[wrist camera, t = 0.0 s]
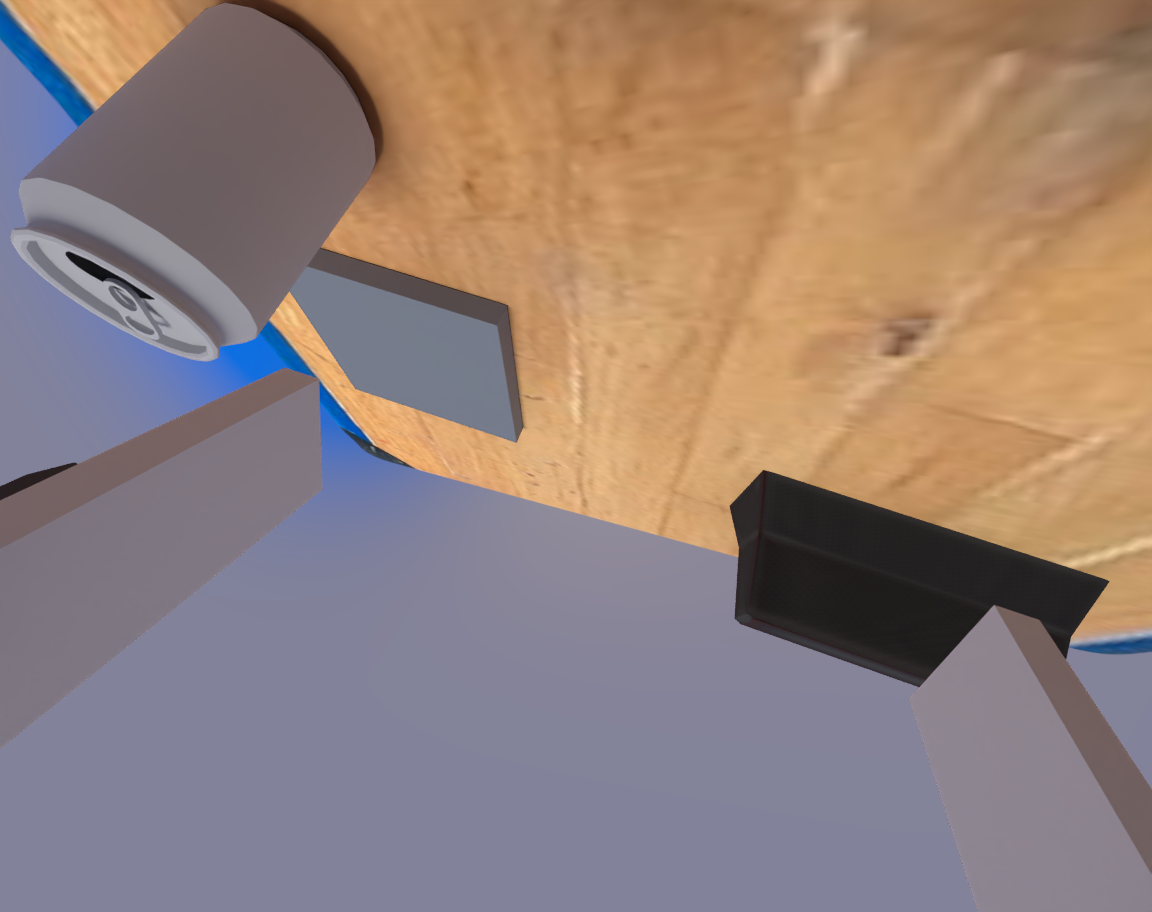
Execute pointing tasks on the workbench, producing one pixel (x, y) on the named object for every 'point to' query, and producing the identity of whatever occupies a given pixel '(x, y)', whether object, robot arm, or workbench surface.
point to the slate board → (415, 341)
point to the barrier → (884, 580)
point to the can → (200, 185)
